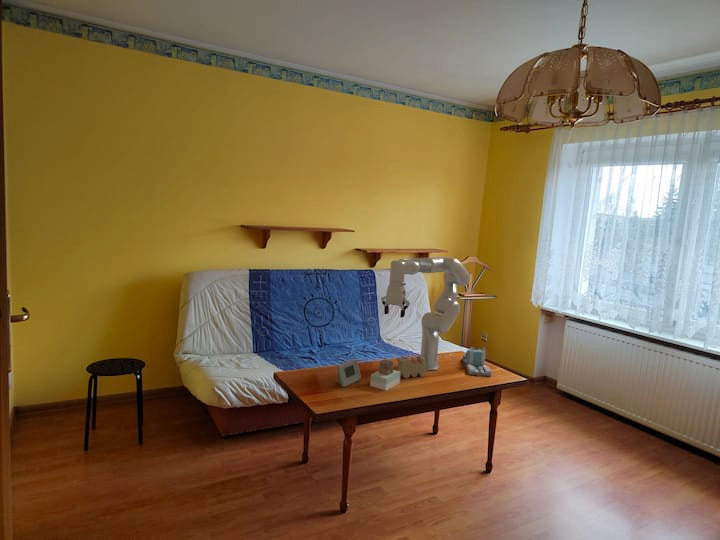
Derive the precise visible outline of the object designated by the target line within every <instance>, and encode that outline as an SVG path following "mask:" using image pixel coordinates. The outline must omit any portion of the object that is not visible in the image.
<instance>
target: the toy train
mask: <svg viewBox="0 0 720 540" xmlns="http://www.w3.org/2000/svg"><path fill="white" fill-rule="evenodd" d="M396 361H397V371H400V372H401V373H400V377H402V378H404V379H408V378H410V377H412V378H416V377H418V376H419V377H421V378H423V377H424V376H425V375H426V373H429V370H428V369H427V368H426V364H427V363H425V358H423V357H421V355H418V356H416V359H415V358H411V359H410V358H408V357H407V356H404V357H403V356H401V357H396Z"/></svg>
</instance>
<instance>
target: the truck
mask: <svg viewBox="0 0 720 540" xmlns="http://www.w3.org/2000/svg"><path fill="white" fill-rule="evenodd" d="M470 345H471V343H469V346H470ZM487 346H488V345H486V346H485V347H481V349H480V348H478V349H475V347H474V346H470V348H468V349H466V352H465V355H464V354H463V355H462V357H461V360H462V361H461V362H462V363H464V366H465V368H466V370H467V373H468V375H471V376H484V377H492V374H493V373H492V369H491V368H490V366H487V365H486V364H485V361H486V357H487V356H486V352H487V351H486V349H487V348H488V347H487Z"/></svg>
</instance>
